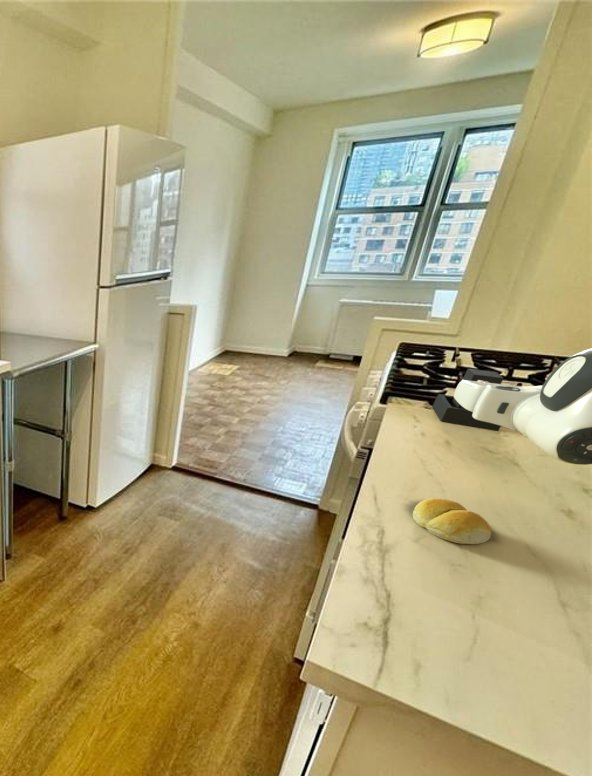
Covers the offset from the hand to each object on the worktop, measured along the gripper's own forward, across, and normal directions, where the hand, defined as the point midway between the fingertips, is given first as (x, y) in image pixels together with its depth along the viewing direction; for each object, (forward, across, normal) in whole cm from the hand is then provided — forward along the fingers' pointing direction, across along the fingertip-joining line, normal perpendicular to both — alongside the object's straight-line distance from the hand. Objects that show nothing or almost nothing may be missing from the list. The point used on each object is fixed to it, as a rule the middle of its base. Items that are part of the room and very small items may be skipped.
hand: (510, 387), depth 97 cm
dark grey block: (+12, 0, +11) cm, 16 cm away
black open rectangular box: (+12, 0, +12) cm, 17 cm away
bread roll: (-44, +17, +12) cm, 49 cm away
